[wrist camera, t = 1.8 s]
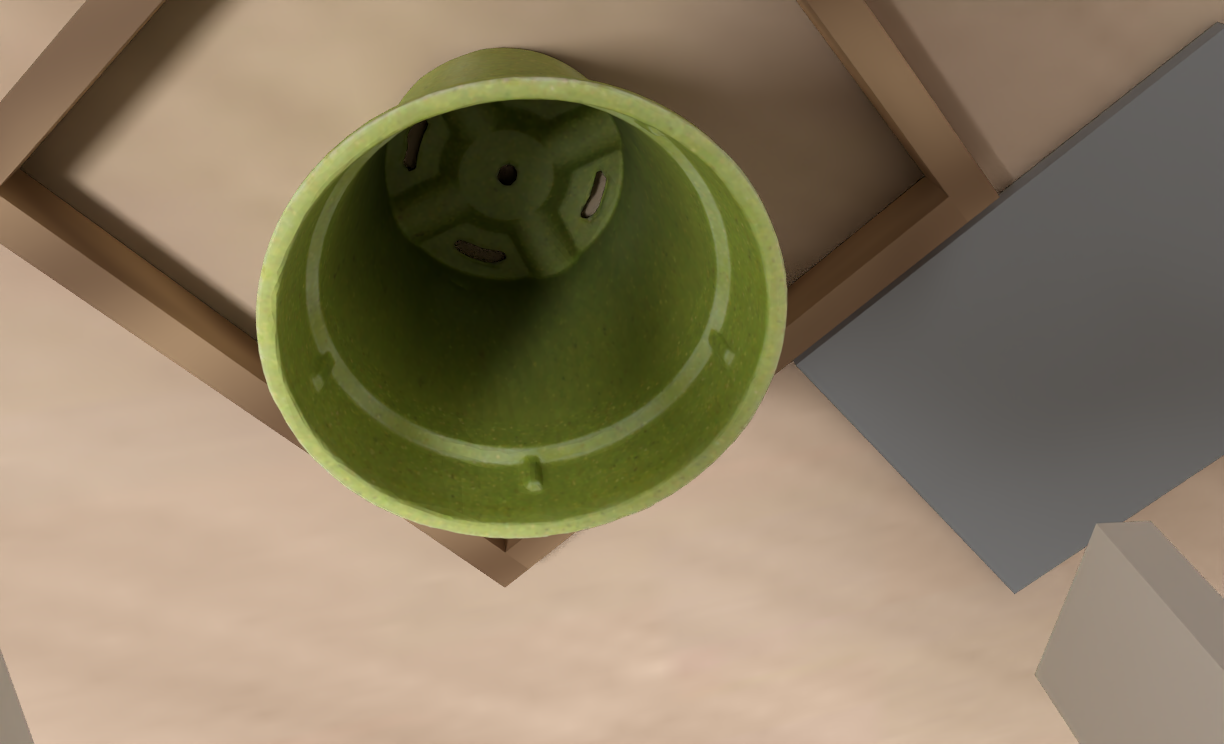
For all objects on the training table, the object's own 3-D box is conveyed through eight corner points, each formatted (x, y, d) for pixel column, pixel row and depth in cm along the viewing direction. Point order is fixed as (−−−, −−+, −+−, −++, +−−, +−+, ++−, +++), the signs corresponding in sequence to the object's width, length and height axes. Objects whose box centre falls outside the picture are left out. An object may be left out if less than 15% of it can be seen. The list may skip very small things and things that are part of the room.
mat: (791, 358, 29) (796, 365, 29) (1217, 22, 26) (1227, 25, 25) (1009, 585, 36) (1014, 593, 35) (1370, 345, 32) (1379, 351, 32)
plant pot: (621, 362, 28) (685, 570, 21) (283, 293, 26) (222, 503, 18) (741, 42, 24) (874, 165, 17) (350, -82, 21) (304, -1, 14)
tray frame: (-48, 167, 23) (-77, 191, 21) (509, -487, 18) (515, -505, 17) (502, 554, 31) (504, 587, 30) (973, 176, 27) (1000, 196, 26)
